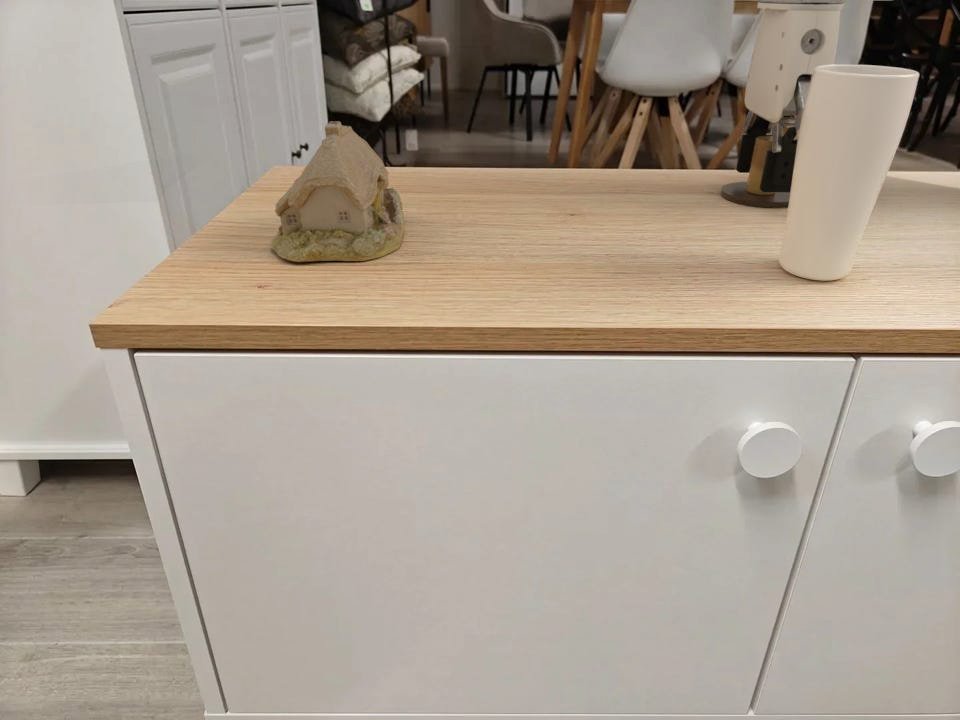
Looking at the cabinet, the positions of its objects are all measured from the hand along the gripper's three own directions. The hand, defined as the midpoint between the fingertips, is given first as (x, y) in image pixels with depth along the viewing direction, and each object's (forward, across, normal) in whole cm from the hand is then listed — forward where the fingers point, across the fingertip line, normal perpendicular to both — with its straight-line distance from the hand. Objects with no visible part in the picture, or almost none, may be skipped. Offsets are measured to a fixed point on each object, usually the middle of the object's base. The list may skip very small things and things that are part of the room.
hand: (762, 180), depth 72 cm
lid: (+2, 0, 0) cm, 2 cm away
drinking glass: (+2, -21, +3) cm, 21 cm away
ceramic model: (+2, -14, +42) cm, 45 cm away
